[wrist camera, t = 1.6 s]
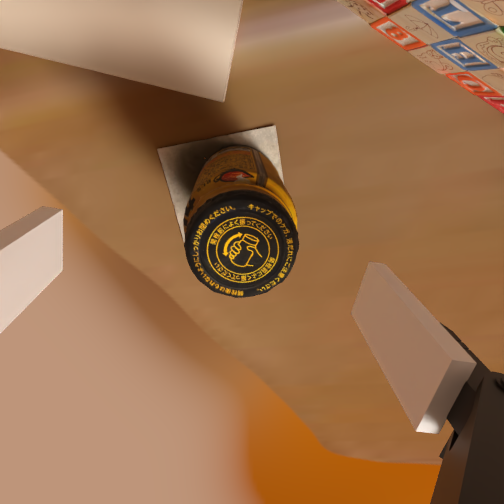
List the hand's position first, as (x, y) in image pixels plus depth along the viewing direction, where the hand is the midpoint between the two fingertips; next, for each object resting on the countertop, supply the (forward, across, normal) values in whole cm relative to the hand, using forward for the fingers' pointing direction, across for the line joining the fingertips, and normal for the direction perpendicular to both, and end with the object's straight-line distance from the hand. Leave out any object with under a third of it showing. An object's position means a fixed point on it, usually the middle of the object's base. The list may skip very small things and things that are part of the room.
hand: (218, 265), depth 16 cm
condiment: (+13, 0, +1) cm, 13 cm away
